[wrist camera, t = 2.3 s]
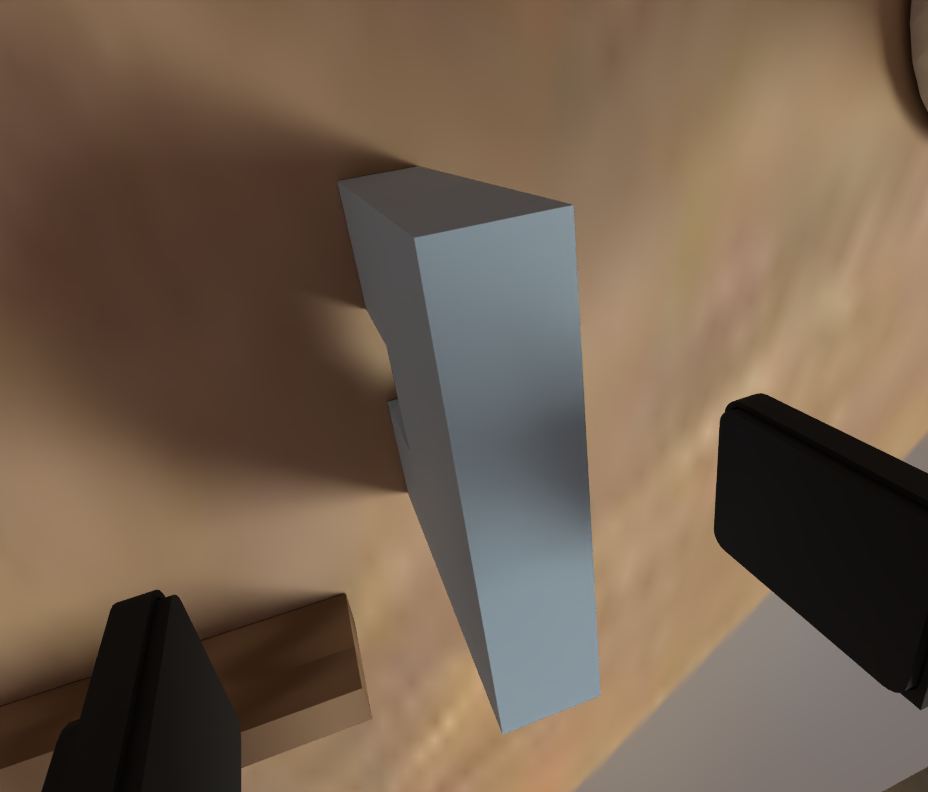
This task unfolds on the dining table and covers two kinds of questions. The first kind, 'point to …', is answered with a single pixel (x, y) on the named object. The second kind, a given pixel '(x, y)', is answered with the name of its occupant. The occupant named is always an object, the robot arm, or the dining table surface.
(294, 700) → the walnut board
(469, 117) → the dining table surface
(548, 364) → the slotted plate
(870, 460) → the robot arm
